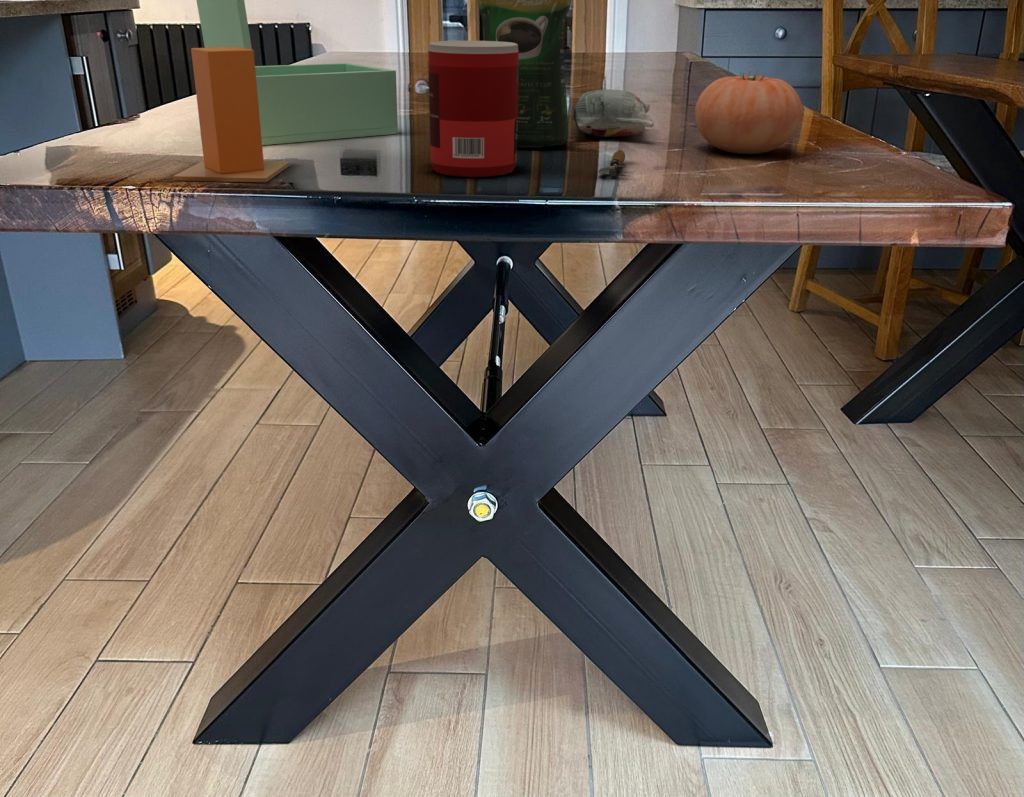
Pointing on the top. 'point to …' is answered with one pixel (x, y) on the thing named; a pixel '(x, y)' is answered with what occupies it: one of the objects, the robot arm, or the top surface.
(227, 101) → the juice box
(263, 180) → the coaster
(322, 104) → the box
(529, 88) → the green coffee bag
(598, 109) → the packaged food
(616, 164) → the can opener
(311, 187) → the top surface
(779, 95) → the orange pumpkin
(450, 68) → the canned food
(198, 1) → the lunchbox lid
